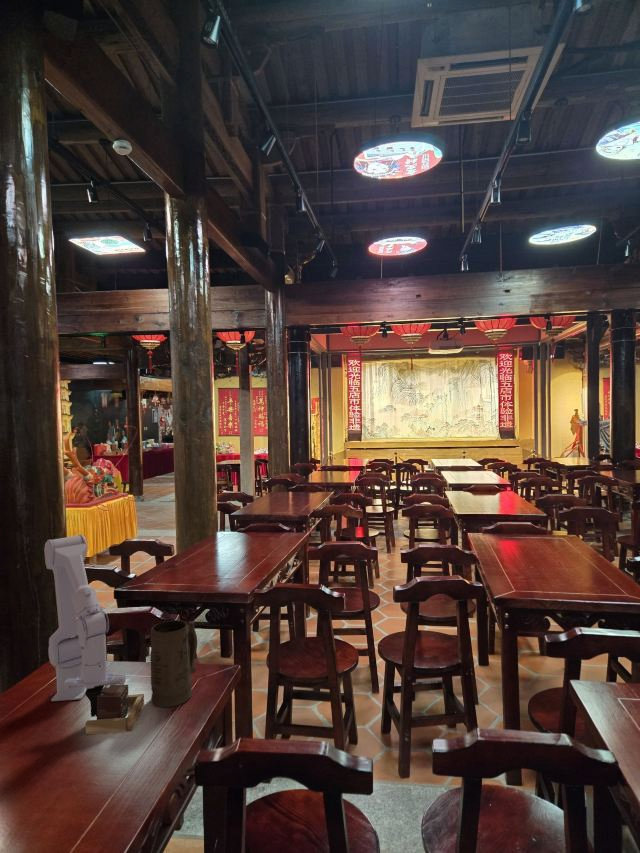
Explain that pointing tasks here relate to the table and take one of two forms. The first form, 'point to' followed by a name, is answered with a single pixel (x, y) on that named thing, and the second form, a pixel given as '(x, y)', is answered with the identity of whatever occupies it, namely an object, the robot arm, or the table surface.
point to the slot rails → (118, 723)
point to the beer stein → (172, 662)
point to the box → (112, 702)
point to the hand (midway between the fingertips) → (96, 714)
